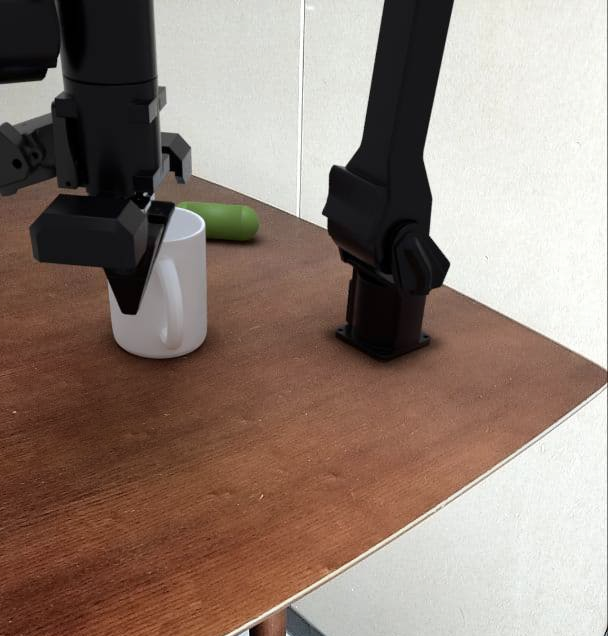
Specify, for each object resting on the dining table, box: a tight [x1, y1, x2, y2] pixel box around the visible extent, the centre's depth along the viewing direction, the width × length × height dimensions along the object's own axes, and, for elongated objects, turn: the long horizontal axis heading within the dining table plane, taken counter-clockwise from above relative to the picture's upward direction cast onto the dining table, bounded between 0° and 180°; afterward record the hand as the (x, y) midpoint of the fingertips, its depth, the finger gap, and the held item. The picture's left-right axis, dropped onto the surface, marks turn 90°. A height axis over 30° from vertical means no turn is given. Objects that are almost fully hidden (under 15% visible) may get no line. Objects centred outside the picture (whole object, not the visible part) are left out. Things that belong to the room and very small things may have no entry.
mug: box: [106, 206, 208, 359], centre depth 72 cm, size 12×8×10 cm
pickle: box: [175, 200, 260, 242], centre depth 94 cm, size 10×4×4 cm, turn 86°
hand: (130, 312), depth 63 cm, fingers closed
